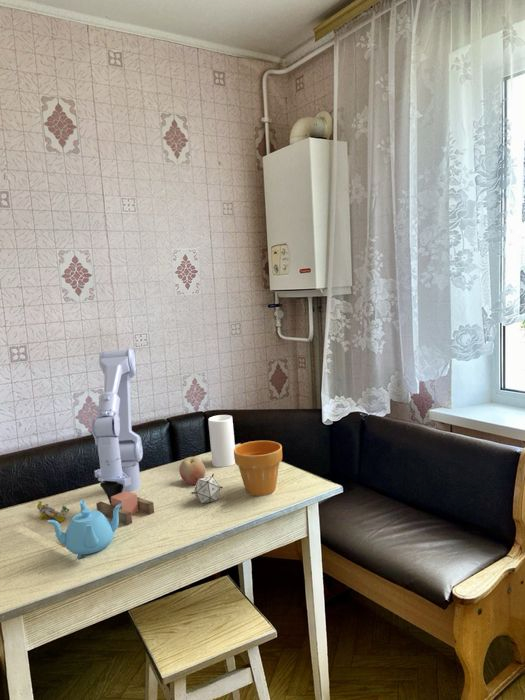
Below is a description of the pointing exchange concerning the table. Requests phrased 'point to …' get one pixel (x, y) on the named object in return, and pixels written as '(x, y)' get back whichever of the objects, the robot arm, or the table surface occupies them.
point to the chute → (123, 514)
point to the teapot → (87, 531)
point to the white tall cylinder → (222, 440)
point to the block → (126, 501)
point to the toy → (51, 512)
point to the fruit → (192, 470)
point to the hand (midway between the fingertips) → (115, 505)
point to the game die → (206, 489)
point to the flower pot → (259, 465)
